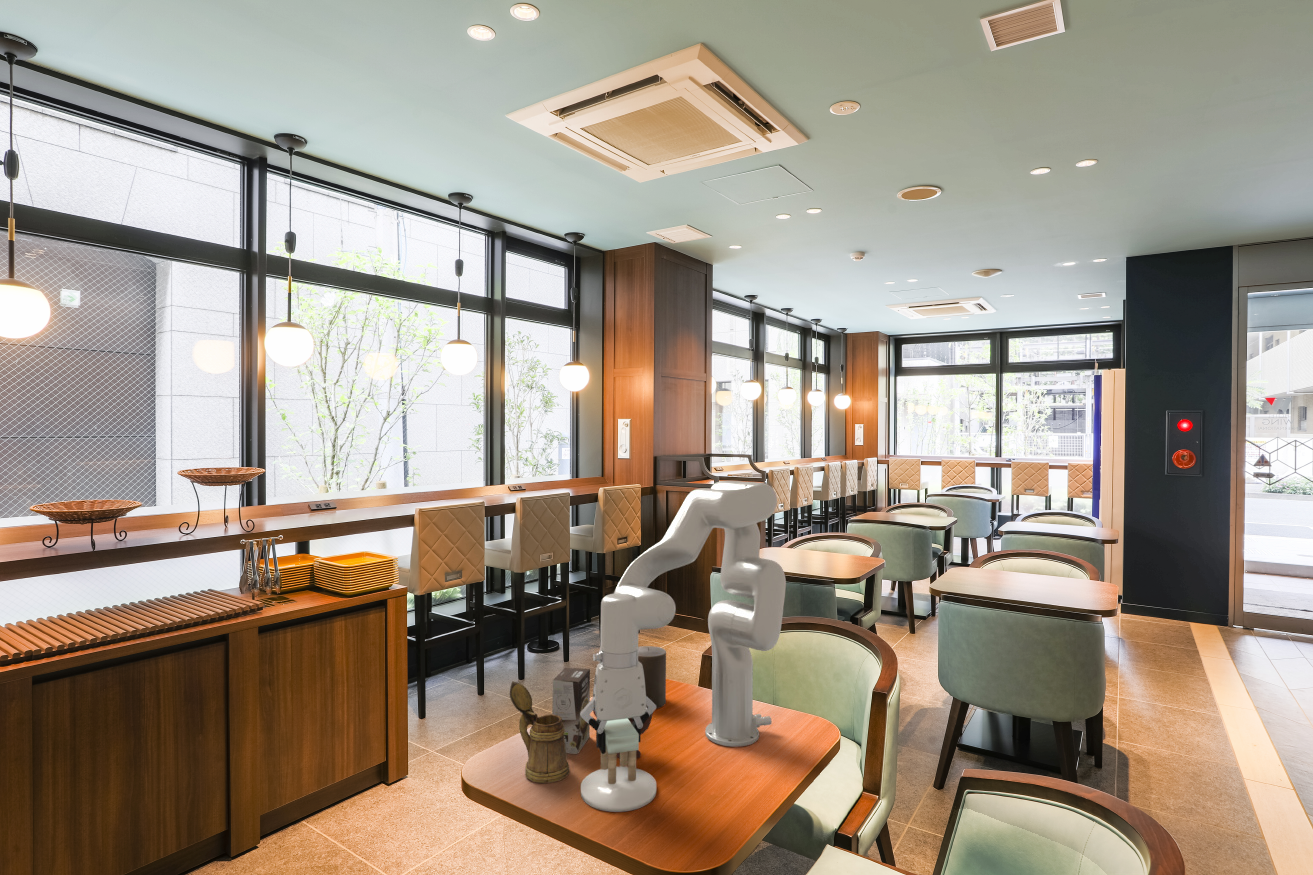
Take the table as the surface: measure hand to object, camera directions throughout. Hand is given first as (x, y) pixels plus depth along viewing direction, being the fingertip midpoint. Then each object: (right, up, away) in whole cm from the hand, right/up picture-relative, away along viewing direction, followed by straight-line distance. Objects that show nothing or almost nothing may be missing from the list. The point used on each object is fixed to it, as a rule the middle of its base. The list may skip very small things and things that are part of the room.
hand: (618, 747), depth 133 cm
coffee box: (-12, -9, +20) cm, 25 cm away
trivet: (0, -9, 0) cm, 9 cm away
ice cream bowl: (+1, -9, +15) cm, 18 cm away
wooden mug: (-17, -9, +8) cm, 21 cm away
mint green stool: (0, -5, 0) cm, 5 cm away
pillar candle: (+5, -9, +45) cm, 46 cm away
